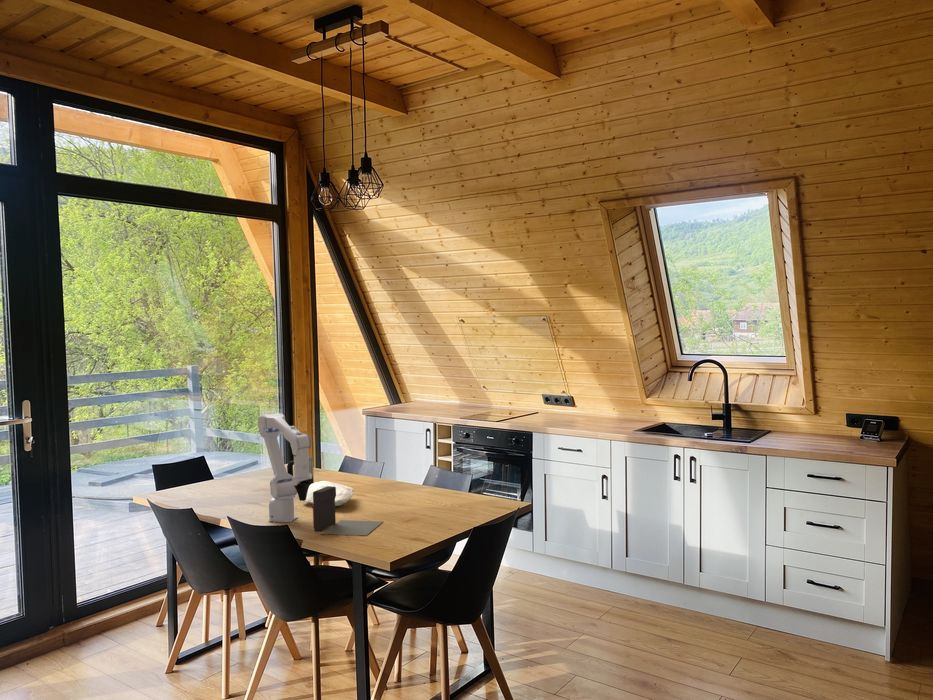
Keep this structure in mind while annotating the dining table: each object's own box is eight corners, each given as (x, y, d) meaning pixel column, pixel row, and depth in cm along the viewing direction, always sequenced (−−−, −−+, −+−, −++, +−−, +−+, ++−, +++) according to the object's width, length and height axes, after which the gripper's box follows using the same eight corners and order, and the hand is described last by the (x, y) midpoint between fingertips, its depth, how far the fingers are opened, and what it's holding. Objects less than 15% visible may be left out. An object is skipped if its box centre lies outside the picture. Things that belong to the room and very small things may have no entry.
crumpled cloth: (339, 489, 350) (336, 471, 349) (375, 502, 322) (371, 482, 321) (293, 505, 337) (289, 486, 336) (326, 519, 309) (322, 498, 308)
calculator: (327, 523, 294) (326, 485, 294) (337, 524, 293) (336, 486, 292) (312, 530, 284) (311, 491, 284) (321, 531, 282) (320, 492, 282)
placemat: (320, 534, 278) (320, 533, 278) (340, 520, 298) (340, 520, 298) (366, 536, 274) (366, 535, 274) (383, 522, 294) (383, 521, 294)
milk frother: (316, 485, 368) (315, 456, 368) (309, 492, 352) (308, 461, 352) (288, 486, 368) (287, 456, 368) (279, 493, 353) (278, 462, 352)
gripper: (303, 469, 282) (304, 504, 282) (318, 462, 296) (319, 496, 296) (286, 468, 283) (287, 504, 283) (302, 462, 297) (303, 496, 298)
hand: (302, 500), depth 290 cm, fingers closed
